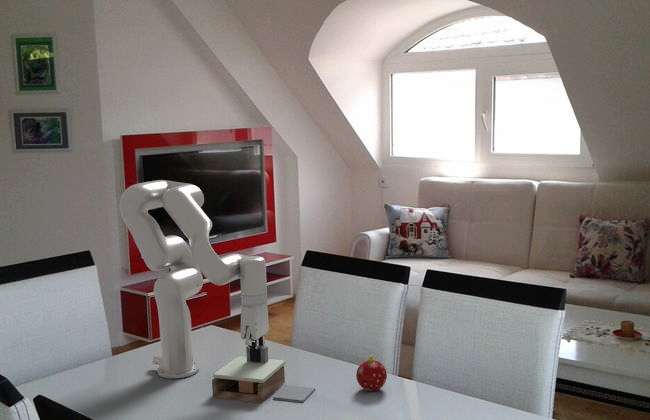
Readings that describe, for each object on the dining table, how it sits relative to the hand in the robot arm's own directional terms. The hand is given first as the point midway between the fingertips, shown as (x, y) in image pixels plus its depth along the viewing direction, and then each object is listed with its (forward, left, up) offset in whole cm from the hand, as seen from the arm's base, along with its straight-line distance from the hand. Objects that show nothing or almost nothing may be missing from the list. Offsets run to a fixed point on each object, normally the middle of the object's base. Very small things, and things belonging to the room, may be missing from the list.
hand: (257, 359), depth 210 cm
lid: (0, -5, -2) cm, 5 cm away
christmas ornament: (+34, +3, -7) cm, 35 cm away
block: (0, -6, -7) cm, 9 cm away
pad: (+14, -6, -7) cm, 17 cm away
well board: (0, -6, -7) cm, 9 cm away
